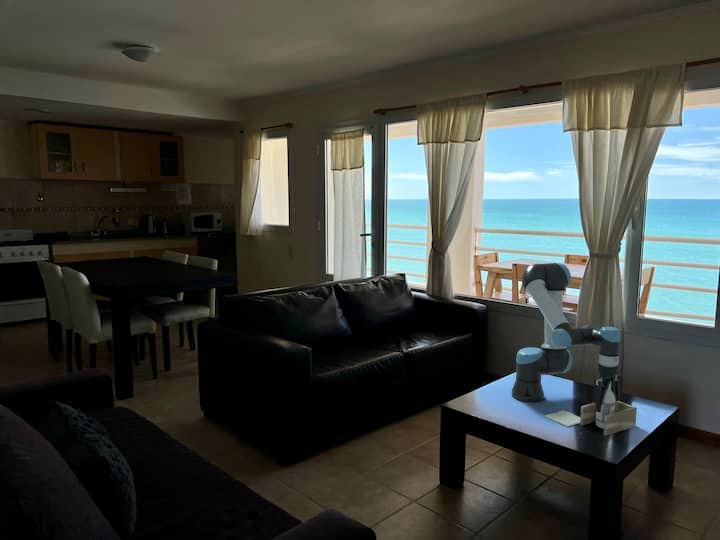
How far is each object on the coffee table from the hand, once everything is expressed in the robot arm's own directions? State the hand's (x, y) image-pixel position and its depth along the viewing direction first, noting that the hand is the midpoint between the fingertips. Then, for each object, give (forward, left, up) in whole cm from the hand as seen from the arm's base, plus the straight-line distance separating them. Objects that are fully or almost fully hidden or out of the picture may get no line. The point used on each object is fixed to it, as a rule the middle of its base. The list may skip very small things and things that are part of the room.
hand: (605, 416), depth 216 cm
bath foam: (0, 0, -4) cm, 4 cm away
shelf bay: (0, +2, -4) cm, 4 cm away
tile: (-13, -8, -4) cm, 16 cm away
